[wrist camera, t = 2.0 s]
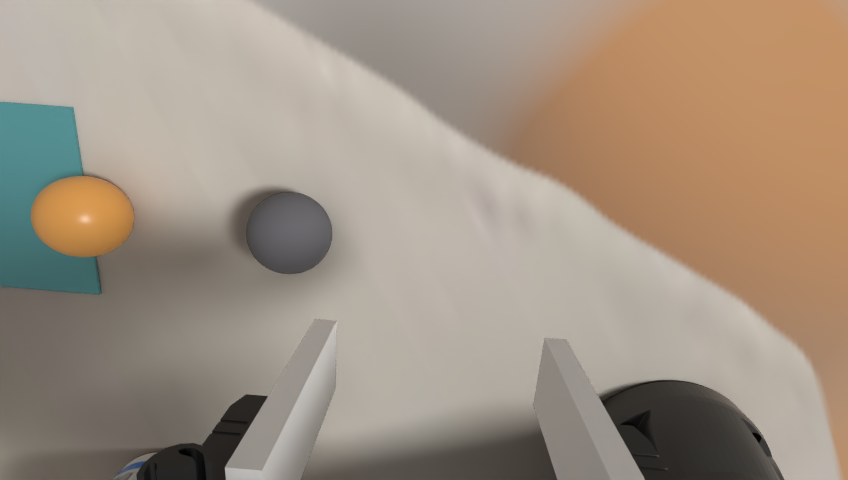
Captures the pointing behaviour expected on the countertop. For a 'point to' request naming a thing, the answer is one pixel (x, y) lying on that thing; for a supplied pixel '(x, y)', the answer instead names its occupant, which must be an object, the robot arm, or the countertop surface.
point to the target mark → (19, 186)
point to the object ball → (82, 216)
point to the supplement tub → (132, 468)
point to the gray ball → (289, 233)
